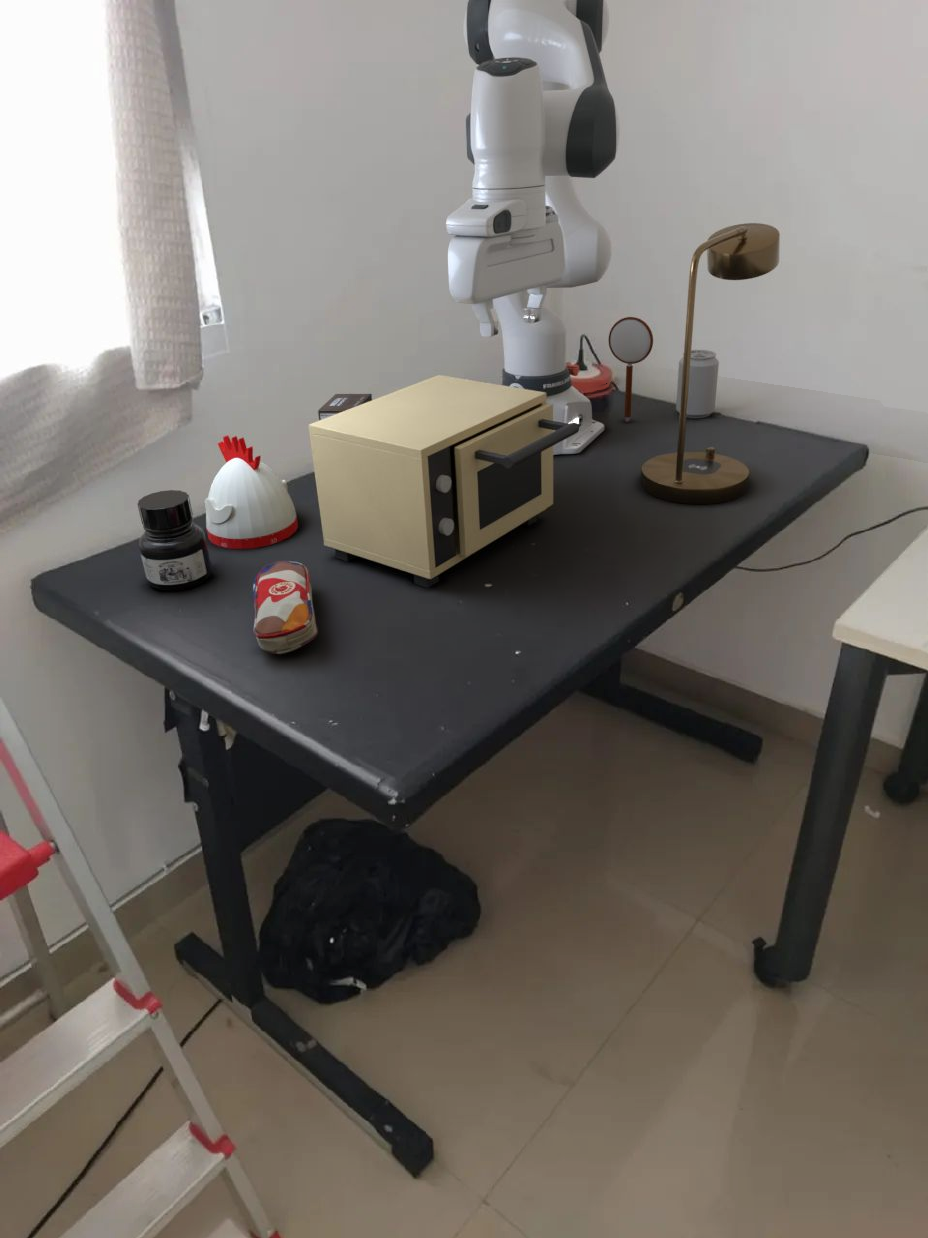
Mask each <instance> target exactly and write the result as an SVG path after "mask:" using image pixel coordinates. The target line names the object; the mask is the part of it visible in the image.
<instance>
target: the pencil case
mask: <svg viewBox="0 0 928 1238" xmlns="http://www.w3.org/2000/svg"><path fill="white" fill-rule="evenodd" d="M252 586H253V587H252V593H253V614H254V624H253V634H254V635H255V638H256V641H257V644H258V646H259V647H260V648H261V649H262V651H263V652H265V653H268V654H272V655H282V654H283V655H285V654H287V653H290V652H293V651H295V650H297V649H298V650H299V648H301V647H303V646H305V645H307V644H309V643H310V642H311V641H313V640H314V639H315V638H316V636H317V635H318V632H319V631H318V625H317V622H316V615H315V609H314V604H313V589H312V585H311V582H310V573H309V570H308V567H307V566H306V565H305V564H304V563H301V562H299V561H294V560H293V561H292V560H279V561H274V562H271V563H268V564H267V565H265V566H263V567H262V568H261V571H259V572H258V573H257V574H256V576H255V578H254V580H253V585H252Z"/></svg>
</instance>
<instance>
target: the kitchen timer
mask: <svg viewBox="0 0 928 1238" xmlns="http://www.w3.org/2000/svg"><path fill="white" fill-rule="evenodd" d="M217 446H218V449H219V451H220V453H221V455H222V456H223V458H224V461H225V464H224V465H222V467H221V468H220V469H219V470H218V472H217V473H216V475H215V476H214V478H213V481H212V482H211V486H210V488H209V492H208V495H207V497H206V498H205V499H204V509H205V528H206V534H207V538H208V540H209V541H210V542H211V544H213V545H216V546H217V547H220V548H225V549H231V550H232V549H233V550H246V549H248V550H249V549H258V548H262V547H263V548H264V547H267V546H270V545H274V544H276V543H277V544H278V543H280V542H283V541H284V540H286V539H288V538H290V537H291V536H292V535H293V534H295V533H296V532H297V529H298V528H299V522H298V517H297V512H296V507H295V505H294V502H293V500H292V498H291V495H290V493H289V491H288V488H289V486H288V483H287V481H286V480H285V479H281V478H280V477H279V476H278V475H277V474H276V473H275V472H274V471H273V469H271V468H270V467H269V466H268V465H267V464H266V463H264V462H263V461H261V455H257V456H255V457H254V454H253V453H254V447H253V445H251V446H249V447H247V444H246V440H245V438H244V437H240V438H238V436H237V435H235V436H233V437H230V436H229V435H228V434H227V435H224V436H222V441H219V442H217Z"/></svg>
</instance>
